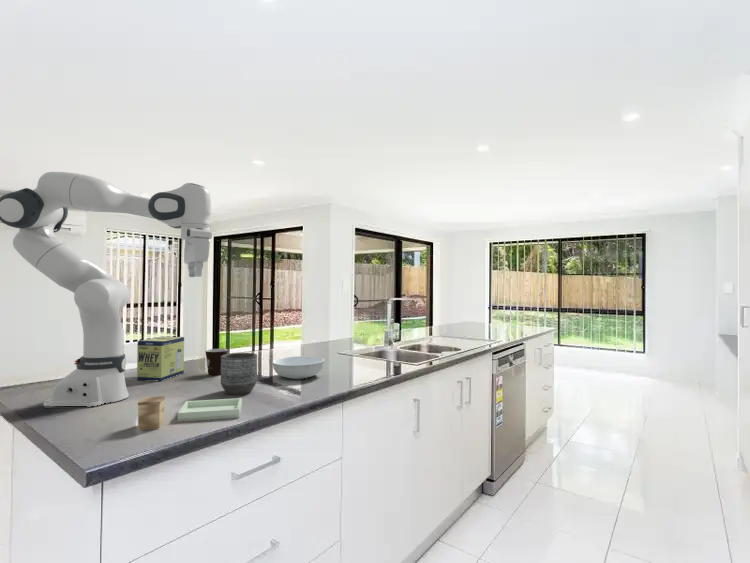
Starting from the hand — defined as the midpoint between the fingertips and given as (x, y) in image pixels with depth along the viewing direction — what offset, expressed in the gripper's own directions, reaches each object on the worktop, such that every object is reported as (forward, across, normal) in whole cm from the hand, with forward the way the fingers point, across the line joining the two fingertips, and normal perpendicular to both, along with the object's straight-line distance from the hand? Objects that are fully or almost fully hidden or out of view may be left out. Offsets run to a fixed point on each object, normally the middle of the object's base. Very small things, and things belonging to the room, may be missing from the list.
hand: (194, 276), depth 135 cm
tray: (+40, +18, +2) cm, 44 cm away
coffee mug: (+40, -36, +16) cm, 56 cm away
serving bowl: (+40, -14, +43) cm, 61 cm away
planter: (+40, -3, +16) cm, 43 cm away
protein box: (+40, -44, -3) cm, 60 cm away
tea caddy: (+40, +20, -14) cm, 47 cm away
